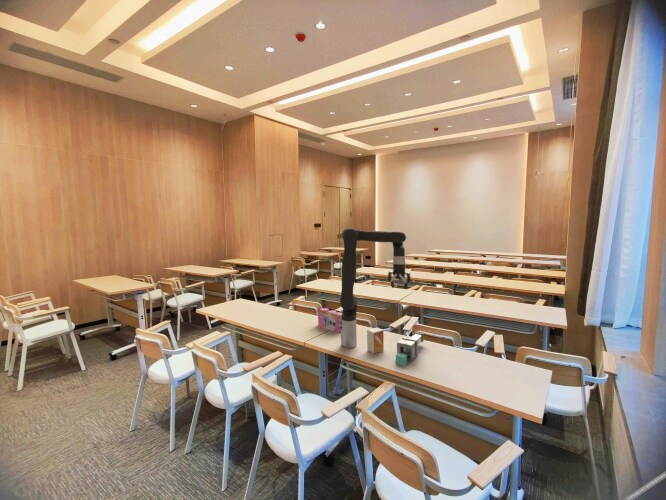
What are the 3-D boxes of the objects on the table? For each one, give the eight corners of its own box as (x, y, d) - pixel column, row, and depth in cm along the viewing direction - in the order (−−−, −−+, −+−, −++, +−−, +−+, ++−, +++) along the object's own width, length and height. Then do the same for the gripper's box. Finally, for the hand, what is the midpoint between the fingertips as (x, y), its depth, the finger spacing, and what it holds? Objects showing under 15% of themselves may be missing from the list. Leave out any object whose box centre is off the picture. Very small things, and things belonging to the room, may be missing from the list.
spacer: (398, 361, 174) (395, 363, 171) (398, 352, 173) (395, 355, 170) (407, 363, 171) (404, 365, 168) (407, 354, 171) (404, 357, 167)
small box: (373, 353, 184) (373, 332, 183) (367, 350, 189) (366, 329, 188) (383, 350, 188) (383, 329, 187) (377, 347, 194) (376, 327, 193)
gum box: (345, 330, 226) (345, 312, 224) (337, 333, 221) (337, 314, 219) (325, 323, 244) (325, 306, 243) (317, 325, 239) (317, 308, 238)
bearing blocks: (397, 358, 177) (397, 342, 176) (403, 352, 185) (403, 336, 184) (411, 362, 172) (411, 345, 171) (417, 355, 180) (417, 339, 179)
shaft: (401, 352, 178) (401, 344, 177) (415, 339, 198) (415, 331, 197) (410, 354, 175) (410, 346, 175) (423, 340, 195) (423, 333, 194)
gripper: (386, 263, 197) (386, 288, 198) (407, 264, 189) (407, 290, 190) (390, 261, 203) (391, 286, 204) (411, 262, 195) (412, 288, 196)
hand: (399, 288), depth 197 cm, fingers open, 8 cm apart
